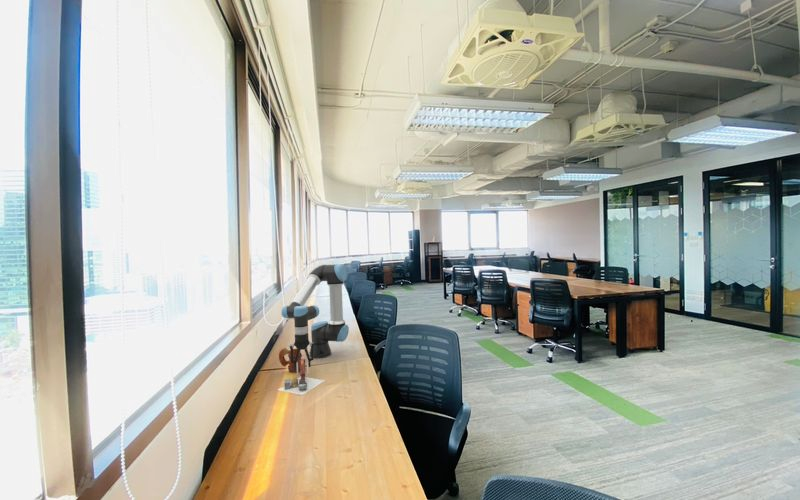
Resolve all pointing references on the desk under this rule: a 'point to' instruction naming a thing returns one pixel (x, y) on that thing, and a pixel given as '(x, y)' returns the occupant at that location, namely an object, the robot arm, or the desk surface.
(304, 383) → the lever
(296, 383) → the tan short cylinder
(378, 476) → the desk surface
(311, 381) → the bench board
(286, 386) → the grey rectangular block
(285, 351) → the mug
